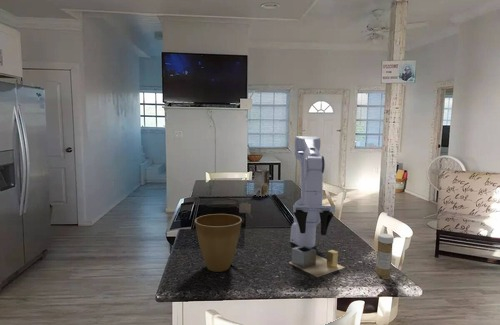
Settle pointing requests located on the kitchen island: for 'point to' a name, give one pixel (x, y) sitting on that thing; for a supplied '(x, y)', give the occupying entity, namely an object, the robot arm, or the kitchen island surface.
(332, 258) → the brass post
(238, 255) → the kitchen island surface
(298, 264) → the grey hollow square block
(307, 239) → the robot arm
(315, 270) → the plate
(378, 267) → the sprinkles bottle
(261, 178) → the coffee box
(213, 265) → the plant pot
